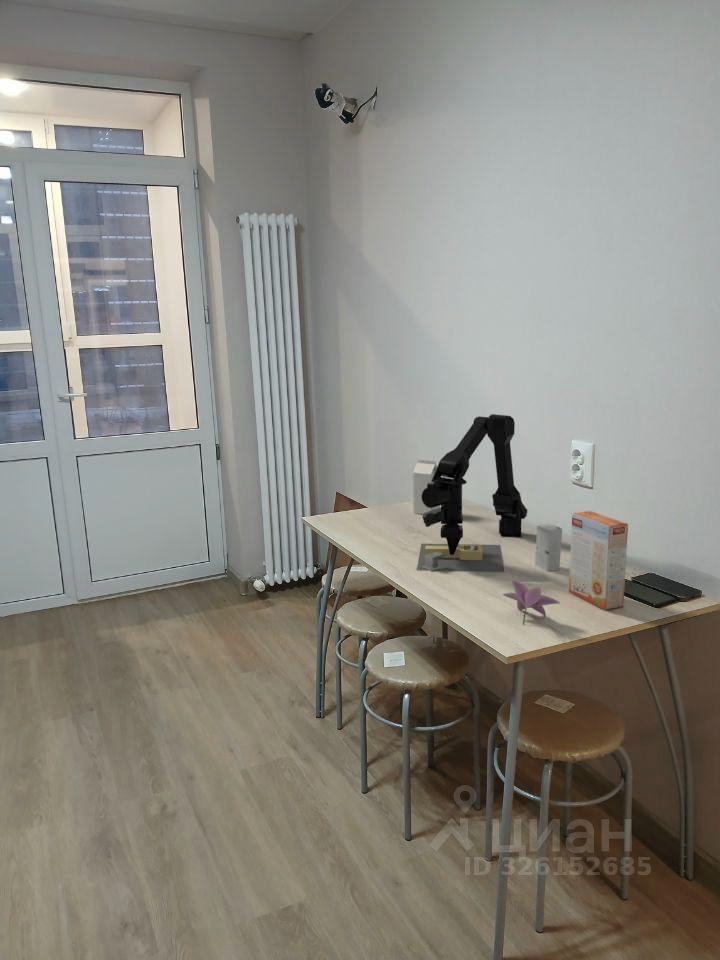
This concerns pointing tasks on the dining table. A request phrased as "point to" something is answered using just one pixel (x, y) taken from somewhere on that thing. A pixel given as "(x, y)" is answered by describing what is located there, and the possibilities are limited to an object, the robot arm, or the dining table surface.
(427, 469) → the milk carton
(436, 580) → the dining table surface
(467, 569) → the mat
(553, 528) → the skincare box
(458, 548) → the link
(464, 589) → the dining table surface
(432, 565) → the keeper
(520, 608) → the lily
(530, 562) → the dining table surface
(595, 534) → the cracker box
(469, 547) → the cylinder
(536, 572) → the dining table surface
